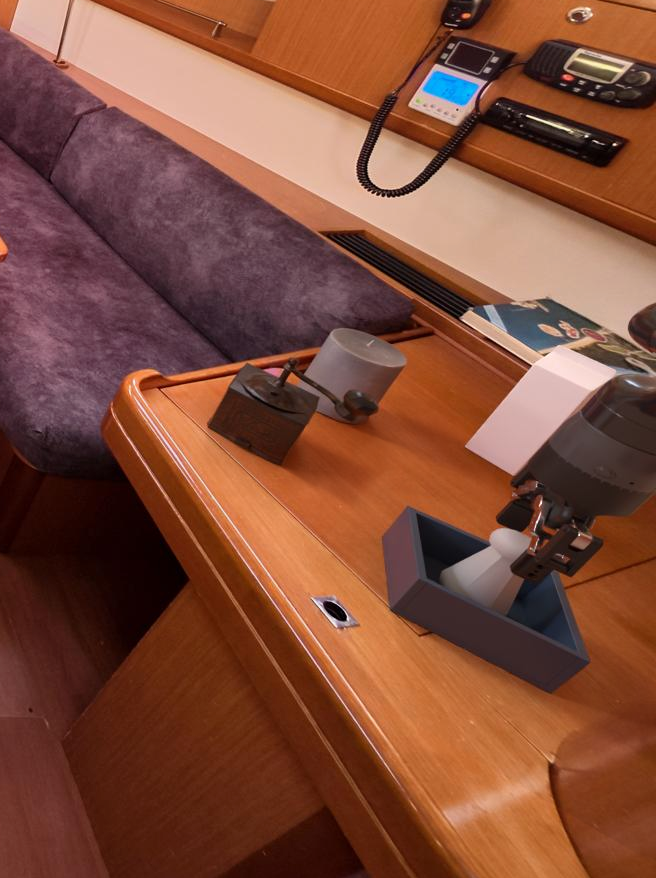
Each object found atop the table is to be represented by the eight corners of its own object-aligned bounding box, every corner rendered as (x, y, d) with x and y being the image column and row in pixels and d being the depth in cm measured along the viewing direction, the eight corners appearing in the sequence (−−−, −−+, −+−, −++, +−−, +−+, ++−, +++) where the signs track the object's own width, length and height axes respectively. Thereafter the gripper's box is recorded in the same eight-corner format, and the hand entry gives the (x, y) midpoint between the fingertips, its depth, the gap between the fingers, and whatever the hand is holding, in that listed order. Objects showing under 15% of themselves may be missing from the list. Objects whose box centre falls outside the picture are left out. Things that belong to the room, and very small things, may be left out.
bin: (524, 604, 82) (559, 572, 79) (551, 694, 73) (591, 663, 70) (381, 536, 90) (407, 505, 87) (389, 610, 81) (418, 578, 78)
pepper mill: (203, 428, 107) (247, 348, 99) (223, 398, 113) (266, 321, 105) (321, 493, 96) (381, 410, 88) (336, 456, 102) (394, 376, 94)
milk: (513, 477, 99) (607, 376, 89) (462, 446, 105) (546, 348, 94) (535, 467, 101) (630, 367, 91) (484, 438, 106) (569, 340, 96)
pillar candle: (333, 384, 117) (374, 322, 110) (382, 426, 108) (430, 362, 101) (280, 382, 117) (318, 320, 110) (325, 424, 108) (369, 359, 101)
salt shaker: (492, 637, 77) (561, 575, 71) (427, 597, 81) (486, 536, 75) (498, 608, 80) (563, 546, 74) (434, 571, 84) (492, 510, 79)
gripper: (686, 527, 62) (579, 619, 69) (637, 440, 71) (547, 529, 78) (568, 481, 66) (479, 572, 73) (536, 405, 76) (460, 492, 83)
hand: (514, 550), depth 76 cm, fingers open, 8 cm apart
